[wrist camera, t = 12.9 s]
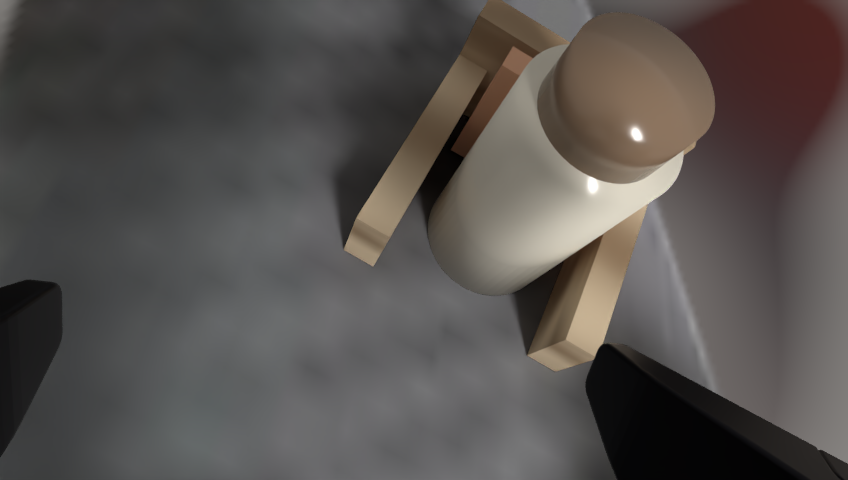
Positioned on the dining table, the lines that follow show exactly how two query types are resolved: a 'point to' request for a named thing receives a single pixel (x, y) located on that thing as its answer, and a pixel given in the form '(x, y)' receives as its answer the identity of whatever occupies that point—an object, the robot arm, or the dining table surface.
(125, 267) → the dining table surface
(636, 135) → the jar
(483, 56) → the wooden frame
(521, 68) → the plate
